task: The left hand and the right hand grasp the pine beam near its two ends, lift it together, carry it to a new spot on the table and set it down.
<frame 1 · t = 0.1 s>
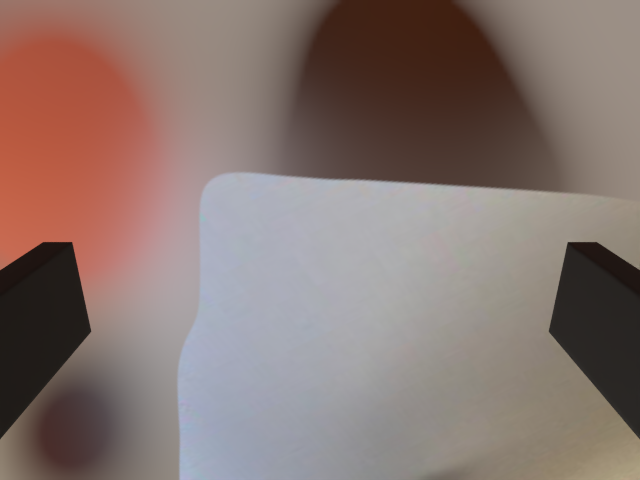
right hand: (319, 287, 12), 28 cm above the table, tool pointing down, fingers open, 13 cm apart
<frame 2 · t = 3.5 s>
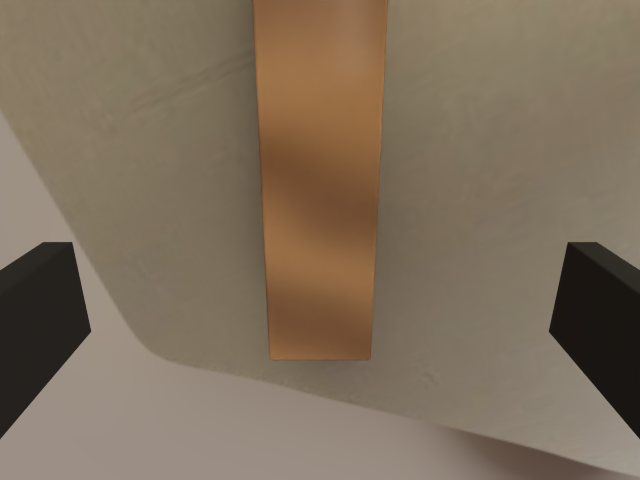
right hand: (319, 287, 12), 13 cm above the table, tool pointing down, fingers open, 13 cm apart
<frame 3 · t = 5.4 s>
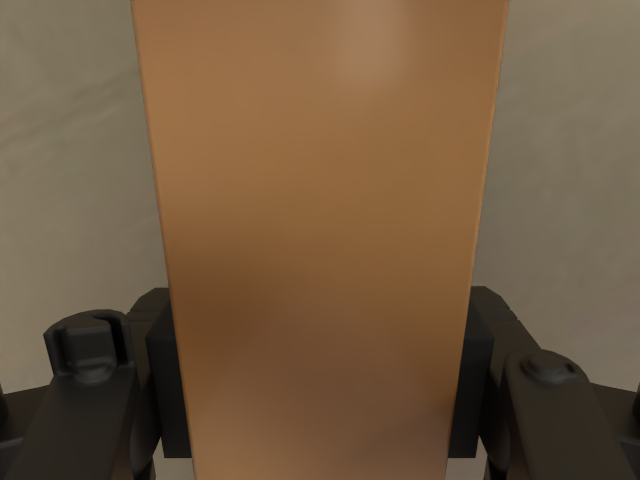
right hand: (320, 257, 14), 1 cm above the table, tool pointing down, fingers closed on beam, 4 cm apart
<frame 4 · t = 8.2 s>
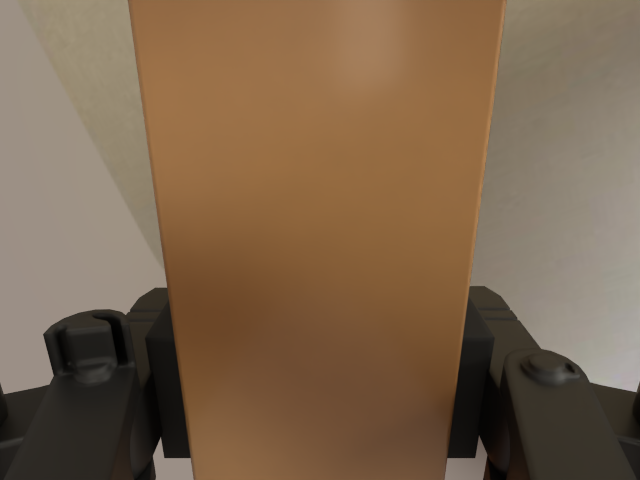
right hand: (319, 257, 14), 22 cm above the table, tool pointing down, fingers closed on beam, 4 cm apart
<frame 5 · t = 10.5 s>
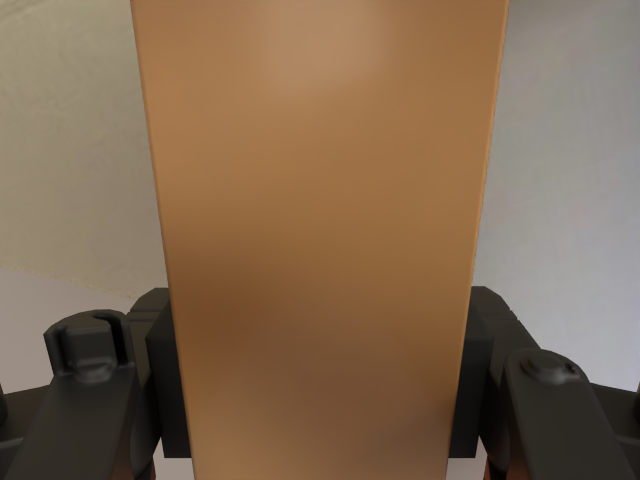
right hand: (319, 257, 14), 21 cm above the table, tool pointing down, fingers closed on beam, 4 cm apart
when the left hand's fingers open (2 cm above the table, at t = 12.8 s): beam stays where it is, on the table.
when the right hand's fingers open (2 cm above the table, at t = 12.8 s): beam stays where it is, on the table.
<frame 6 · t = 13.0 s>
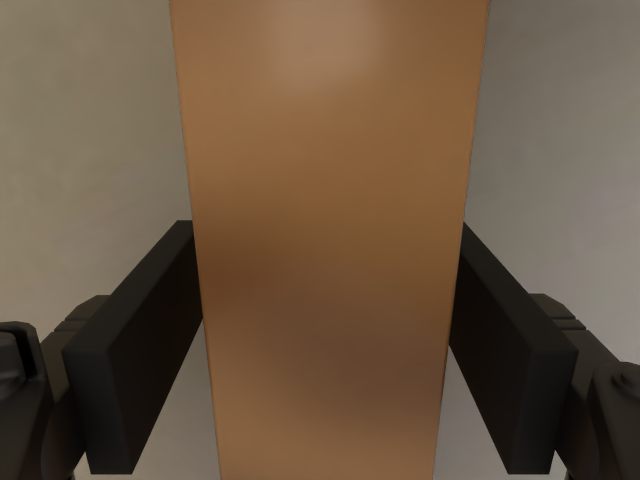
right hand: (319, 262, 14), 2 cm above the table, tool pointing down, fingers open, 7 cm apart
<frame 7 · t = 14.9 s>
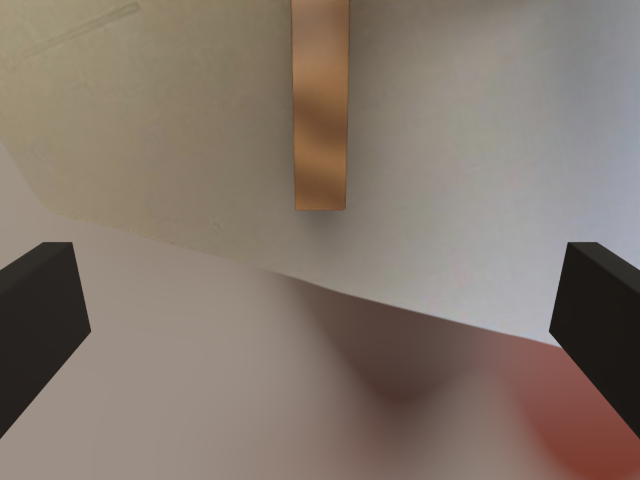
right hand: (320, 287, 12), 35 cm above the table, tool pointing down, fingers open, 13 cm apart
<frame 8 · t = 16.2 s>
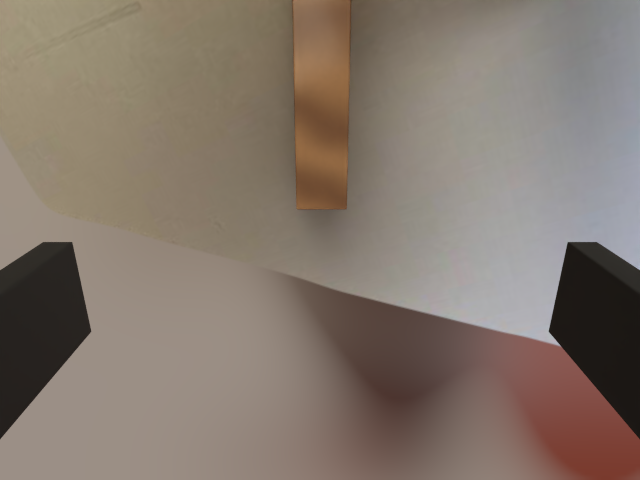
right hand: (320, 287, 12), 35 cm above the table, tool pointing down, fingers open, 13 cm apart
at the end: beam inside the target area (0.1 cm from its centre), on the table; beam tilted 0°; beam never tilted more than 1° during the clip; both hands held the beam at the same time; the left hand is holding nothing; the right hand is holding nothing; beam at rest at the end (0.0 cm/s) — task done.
